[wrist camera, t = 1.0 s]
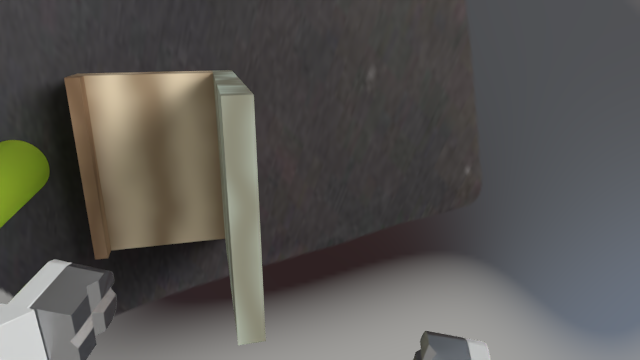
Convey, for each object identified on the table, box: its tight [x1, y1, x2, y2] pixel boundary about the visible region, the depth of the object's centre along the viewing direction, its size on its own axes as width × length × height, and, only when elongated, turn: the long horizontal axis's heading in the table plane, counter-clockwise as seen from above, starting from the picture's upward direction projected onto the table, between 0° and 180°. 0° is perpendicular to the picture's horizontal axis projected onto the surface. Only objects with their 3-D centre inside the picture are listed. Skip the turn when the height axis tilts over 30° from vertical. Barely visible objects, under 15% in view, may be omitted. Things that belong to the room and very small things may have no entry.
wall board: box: [64, 70, 266, 345], centre depth 39 cm, size 15×18×22 cm
